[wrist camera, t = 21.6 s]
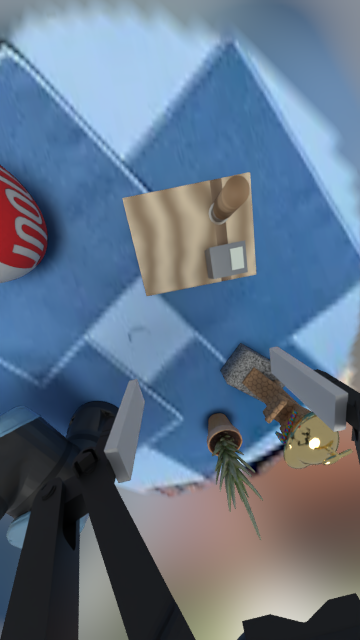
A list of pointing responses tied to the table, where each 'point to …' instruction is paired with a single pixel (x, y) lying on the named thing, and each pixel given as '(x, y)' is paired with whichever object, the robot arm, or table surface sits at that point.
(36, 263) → the decorative sphere
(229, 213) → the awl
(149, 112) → the table surface
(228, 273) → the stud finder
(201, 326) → the table surface
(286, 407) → the figurine
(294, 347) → the table surface
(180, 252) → the board
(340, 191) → the table surface
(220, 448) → the potted plant
